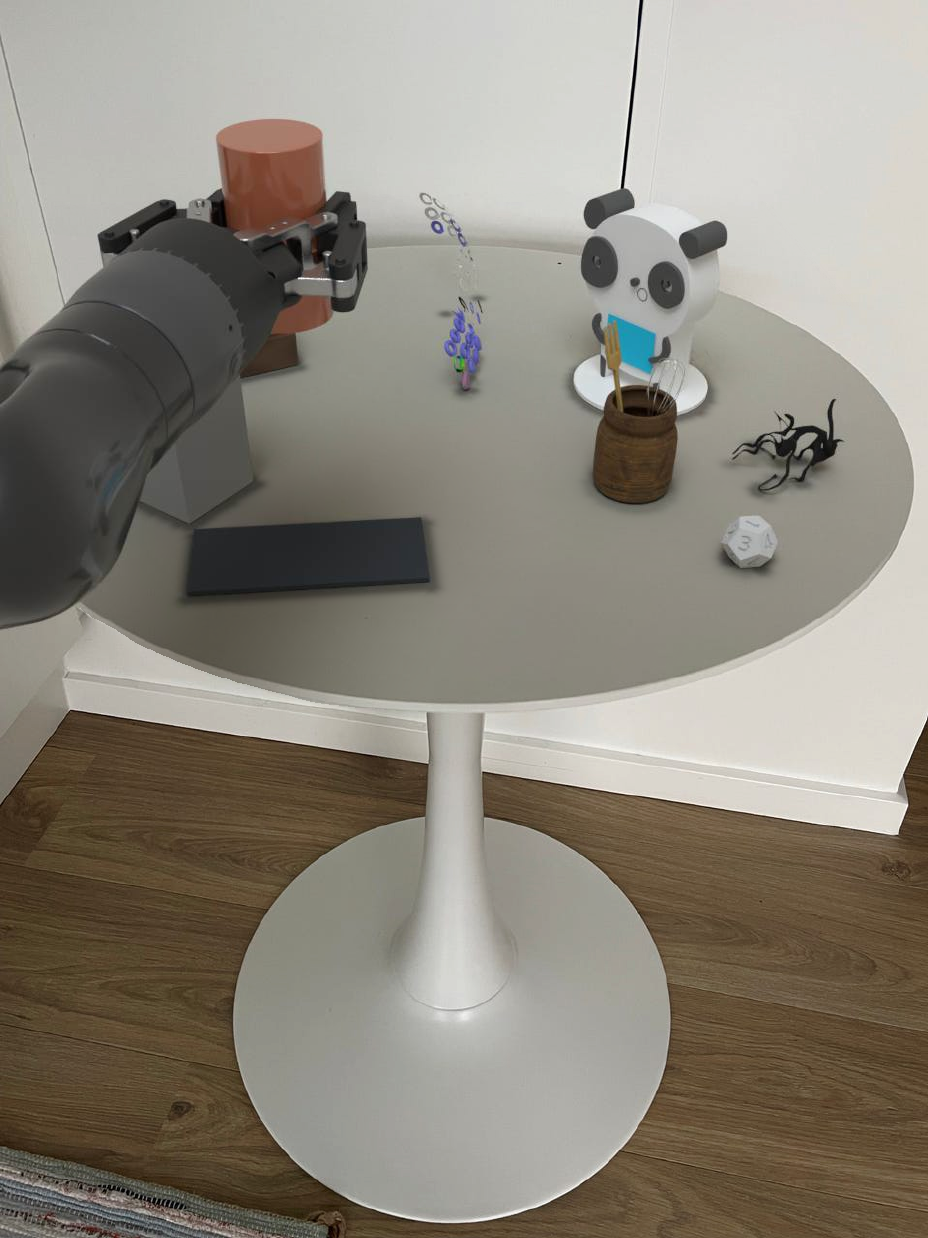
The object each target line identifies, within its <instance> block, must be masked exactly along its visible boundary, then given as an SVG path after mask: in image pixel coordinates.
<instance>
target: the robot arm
mask: <svg viewBox="0 0 928 1238" xmlns="http://www.w3.org/2000/svg"><path fill="white" fill-rule="evenodd" d="M357 207H358V206H357V201H354V200H352V196H351V192H349V191H341V190H336V191H335V192H334V193H332V195H331V196H330V197H329V198H327V202H326V203H325V204H324V205H323V206H322V207H321V208H320V209H319V210H318V211H317V214H316V215H314V216H311V217H309V218H306V219H304V220H300V219H297V218H294V217H291V216H288V217H285V218H283V219H280V220H278V221H275V222H273V223H270V224H268V225H265V226H263V227H261V228H258V229H254V228H252V227H248V228H246V229H243V230H237V229H233V228H227V225H226V217H225V208H224V200H223V192H222V187H221V188H218V189H215V191H214V192H213V193H211V194H210V195H209V196H208V197H206V198H196V199H192V200H190V201H189V202H188V208H177V202H176V201H175V200H172V199H167V198H165V199H164V198H163V199H160V200H156V201H154V202H153V203H150V204H149V205H147V206H146V207H143V208H142V209H139V210H138V211H136V212H135V213H133V214H131V215H129V216H127V217H125V218H124V219H122V220H120V221H118V222H116V223H115V224H113V225H111V226H110V227H107V228H106V229H103V230H102V231H101V232H98V234H97V239H98V245H99V252H100V257H101V263H102V267H101V269H99V270H98V271H97V272H96V273H94V274H93V275H92V276H91V277H90V278H88V279H87V280H86V281H85V282H84V283H82V285H81V286H80V287H78V288H77V289H76V290H75V292H73V294H72V295H71V297H70V298H69V299H68V300H67V302H66V303H65V304H64V306H62V308H61V309H60V311H58V313H56V314H55V315H53V316H52V317H51V319H49V320H48V321H47V322H46V323H44V324H43V325H42V326H41V327H40V328H38V329H37V330H36V331H34V332H33V334H31V335H30V336H29V337H27V338H26V339H25V340H24V341H23V342H22V343H21V344H19V346H17V347H16V349H14V350H13V351H12V352H11V353H10V354H9V355H8V356H7V357H6V358H5V359H4V360H3V361H2V362H1V363H0V631H2V630H8V629H13V628H17V627H21V626H22V627H24V626H27V625H32V624H36V623H37V624H38V623H40V622H41V623H42V622H44V621H46V620H49V619H52V618H54V617H57V616H59V615H61V614H63V613H64V612H66V611H68V610H70V609H72V607H74V606H76V605H77V604H79V603H80V602H81V601H83V600H84V599H85V598H86V597H87V596H88V595H90V594H91V593H92V592H93V591H94V590H95V589H97V588H98V587H99V586H100V585H101V583H102V582H103V581H104V580H105V579H106V578H107V576H108V575H109V574H110V572H111V571H112V570H113V568H114V567H115V565H116V564H117V562H118V560H119V559H120V556H121V553H122V552H123V550H124V546H125V543H126V540H127V538H128V535H129V533H130V529H131V527H132V524H133V521H134V518H135V515H136V513H137V510H138V507H139V504H140V502H141V501H140V499H141V496H142V492H143V489H144V485H145V481H146V477H147V474H148V473H149V472H150V471H151V470H152V469H153V468H154V467H155V466H156V465H157V464H158V462H159V461H160V460H161V459H162V458H163V456H164V455H165V454H166V453H167V452H168V450H169V449H170V448H171V447H172V446H173V445H174V443H175V442H176V441H177V440H178V439H179V437H180V436H181V435H182V434H183V433H184V432H185V431H186V430H187V429H188V428H189V427H191V426H192V425H194V424H195V423H196V422H197V421H198V420H200V419H201V418H202V417H203V416H204V415H205V414H206V413H207V412H208V411H209V410H210V409H211V408H212V407H213V406H214V405H215V403H216V402H217V401H218V400H219V399H220V397H221V396H222V395H223V394H224V393H225V391H226V390H227V389H228V388H229V387H230V385H231V384H232V383H233V382H234V381H235V379H236V378H237V377H238V376H239V375H240V373H241V372H242V371H243V370H244V369H245V367H246V366H247V365H248V364H249V363H250V361H251V360H252V359H253V358H254V357H255V355H256V354H257V353H258V352H259V351H260V349H261V348H262V347H263V346H264V344H265V343H266V341H267V339H268V338H269V336H270V334H271V331H272V329H273V326H274V324H275V321H276V319H277V317H278V314H279V313H280V312H281V311H282V310H284V309H286V308H289V307H291V306H294V305H295V304H297V303H298V302H299V301H300V300H301V298H302V296H303V295H305V296H326V299H328V300H331V309H332V310H333V311H334V312H336V313H349V312H352V311H354V310H355V309H356V306H357V303H358V301H359V297H360V295H361V291H362V288H363V285H364V282H365V279H366V276H367V273H368V270H369V266H368V264H369V262H368V242H367V224H366V222H364V221H363V220H358V208H357ZM315 236H316V244H317V251H316V252H314V253H312V239H313V238H314V237H315ZM284 240H285V243H286V245H285V243H284V242H283V241H284Z"/></svg>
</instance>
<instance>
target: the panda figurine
mask: <svg viewBox="0 0 928 1238" xmlns="http://www.w3.org/2000/svg"><path fill="white" fill-rule="evenodd" d="M635 203H636V202H635V197H634V195H633V193H632V191H631V190H630V189H629V188H625V187H623V188H619V189H617V190H613V191H610V192H608V193H605V194H602V195H599V196H596V197H593V198H590V199H589V200H588V201H587V202H586V204H585V206H584V209H583V221H584V222H585V225H586V226H587V228H589V229H590V230H593V233H592V234H591V236H590V237H589V238H588V239H587V241H586V242H585V245H584V247H583V250H582V253H581V258H580V272H581V276H582V278H583V280H584V281H585V285H586V287H587V290H588V293H589V295H590V297H591V300H592V302H593V304H594V305H595V307H596V308H597V310H598V313H596V314H595V315H594V316H593V318H592V320H591V328H592V331H593V334H594V336H595V337H596V339H597V340H598V341H599V343H600V353H599V354H597V355H594V356H592V357H589V358H588V359H586V360H584V361H583V362H582V363H580V365H578V366H577V368H576V369H575V371H574V374H573V387H574V389H575V391H576V393H577V395H579V397H580V398H581V399H582V400H584V401H585V402H586V403H588V404H589V405H591V406H593V407H594V408H596V409H598V410H600V411H603V412H604V405H605V402H606V399H607V396H608V395H609V394H610V393H611V392H612V391H613V390H615V384H614V376H613V371H612V370H610V369H608V367H607V359H606V349H605V339H604V327H605V326H606V327H607V330H608V337H609V329H608V324H609V323H611V324H612V330H613V321H614V320H616V323H617V330H618V336H619V343H620V350H621V357H622V362H621V364H620V366H619V369H618V372H619V380H620V387H623V386H629V385H645V386H648V385H649V382H650V385H649V386H651V387H655V388H657V386H658V385H659V387H658V389H661V390H663V391H665V392H668V394H669V393H670V395H671V396H672V397H673V398H674V397H675V396H676V397H675V398H674V399H675V400H676V405H677V417H678V416H682V415H684V414H687V413H690V412H692V411H694V410H695V409H697V408H698V407H700V406H701V405H702V403H703V402H704V401H705V400H706V398H707V395H708V388H709V386H708V381H707V379H706V378H705V375H704V374H703V372H701V371H700V370H699V369H698V368H697V367H695V366H694V365H693V364H690V356H691V349H692V343H693V338H694V337H693V336H694V330H695V325H696V324H697V323H698V322H700V321H702V320H703V319H704V318H706V317H707V315H709V313H710V312H711V311H712V309H713V308H714V305H715V303H716V301H717V297H718V295H719V290H720V281H721V277H720V274H721V273H720V271H721V270H720V260H719V254H718V253H719V252H718V250H719V249H721V248H724V247H725V246H726V245H727V242H728V229H727V227H726V226H725V224H724V223H723V222H721V221H719V220H711V221H709V222H706V223H704V224H703V223H702V221H700V220H699V219H697V217H695V216H693V215H691V214H690V213H688V212H685V211H684V210H681V209H680V208H677V207H675V206H672V205H669V204H663V203H657V202H656V203H655V202H652V203H651V202H648V203H643V204H641V205H639V206H635V205H636V204H635ZM613 336H614V331H613ZM609 343H610V340H609ZM614 343H615V341H614ZM669 357H672V358H673V359H672V358H670V359H672V360H675V359H676V362H677V361H679V362H677V363H678V364H679V365H680V366H681V368H682V370H683V373H682V370H681V368H680V366H679V365H678V367H677V363H676V362H675V361H673V362H672V361H668V360H670V359H668V360H667V359H663V358H669ZM661 359H662V360H661ZM677 359H678V360H677ZM659 360H661V361H659ZM666 360H667V362H666V364H665V361H666ZM658 361H659V362H658ZM657 362H658V363H657ZM663 362H664V363H663ZM671 362H672V363H671ZM674 362H675V365H674ZM680 362H681V363H682V364H683V365H684V367H683V365H682V364H681V363H680ZM661 363H662V364H661ZM670 363H671V364H670ZM656 364H657V365H656ZM660 364H661V365H660ZM669 364H670V365H669ZM655 365H656V367H655ZM664 365H665V366H664ZM668 365H669V366H668ZM657 366H658V367H657ZM654 367H655V369H656V368H657V369H656V370H655V369H654ZM663 367H664V369H663ZM667 367H668V368H667ZM666 368H667V369H666ZM676 368H677V370H676ZM684 368H685V375H684ZM653 370H655V372H654V374H653V376H652V379H651V381H650V378H651V375H652V373H653ZM662 370H663V372H662ZM665 370H666V371H665ZM664 371H665V373H664ZM675 371H676V373H675ZM661 373H662V375H663V373H664V375H663V377H662V375H661ZM674 374H675V379H673V377H674ZM660 376H661V377H662V379H661V378H660ZM683 376H684V378H683ZM659 379H660V380H661V382H660V381H659ZM672 379H673V380H674V383H673V381H672ZM682 379H683V383H682V386H681V389H680V392H678V390H679V388H680V385H681V382H682ZM658 382H659V383H660V384H658ZM671 382H672V384H673V386H672V384H671ZM670 385H671V386H670ZM669 387H670V389H669ZM671 387H672V389H671ZM668 389H669V391H668ZM670 390H671V392H670ZM677 392H678V393H679V395H678V394H677ZM676 394H677V395H676ZM677 396H678V397H677ZM676 398H677V399H676Z"/></svg>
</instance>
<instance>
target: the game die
mask: <svg viewBox="0 0 928 1238" xmlns="http://www.w3.org/2000/svg"><path fill="white" fill-rule="evenodd" d="M720 543H721V546H722V547H723V549H724V551H725V552H726V555H727V557H728V558H729V559H730V560H731V561H732V562H733V563H734V564H735V565H737V566H738V567H739V569H748V568H760V567H761V566H763V565H765V564H766V563H767V562H768V561H770V560H772V557H773V555H774V553H775V550H776V548H777V545H778V544H779V540H778V538H777V536H776V533H775V532H774V530H773V528H772V525H770V524H769V523H768V522H767V521H765V519H763V517H761V516H760V515H743V516H738V517H737V518H736V519H735V520H734V521H732V522H731V523H730V524H728V526H727V528H726V530H725V532H724V535H723V537H722V540H721V542H720Z"/></svg>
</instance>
